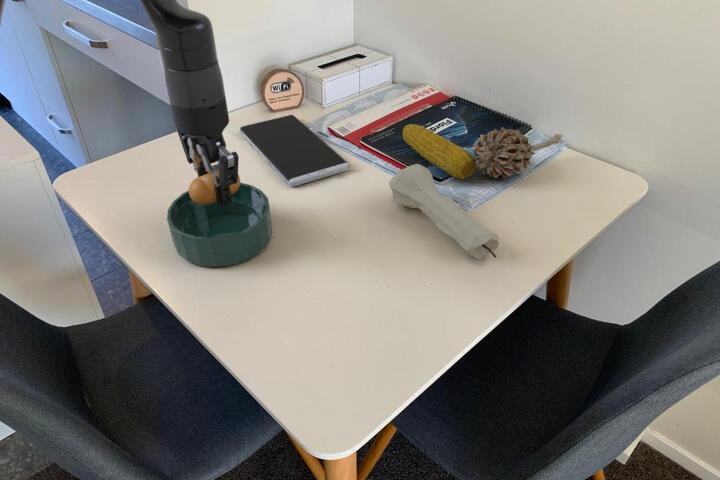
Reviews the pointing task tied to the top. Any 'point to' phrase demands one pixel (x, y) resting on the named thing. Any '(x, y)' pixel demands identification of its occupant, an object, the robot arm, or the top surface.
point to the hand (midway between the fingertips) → (216, 196)
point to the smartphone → (293, 150)
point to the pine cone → (506, 152)
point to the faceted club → (441, 210)
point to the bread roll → (207, 189)
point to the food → (439, 151)
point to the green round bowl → (221, 227)
